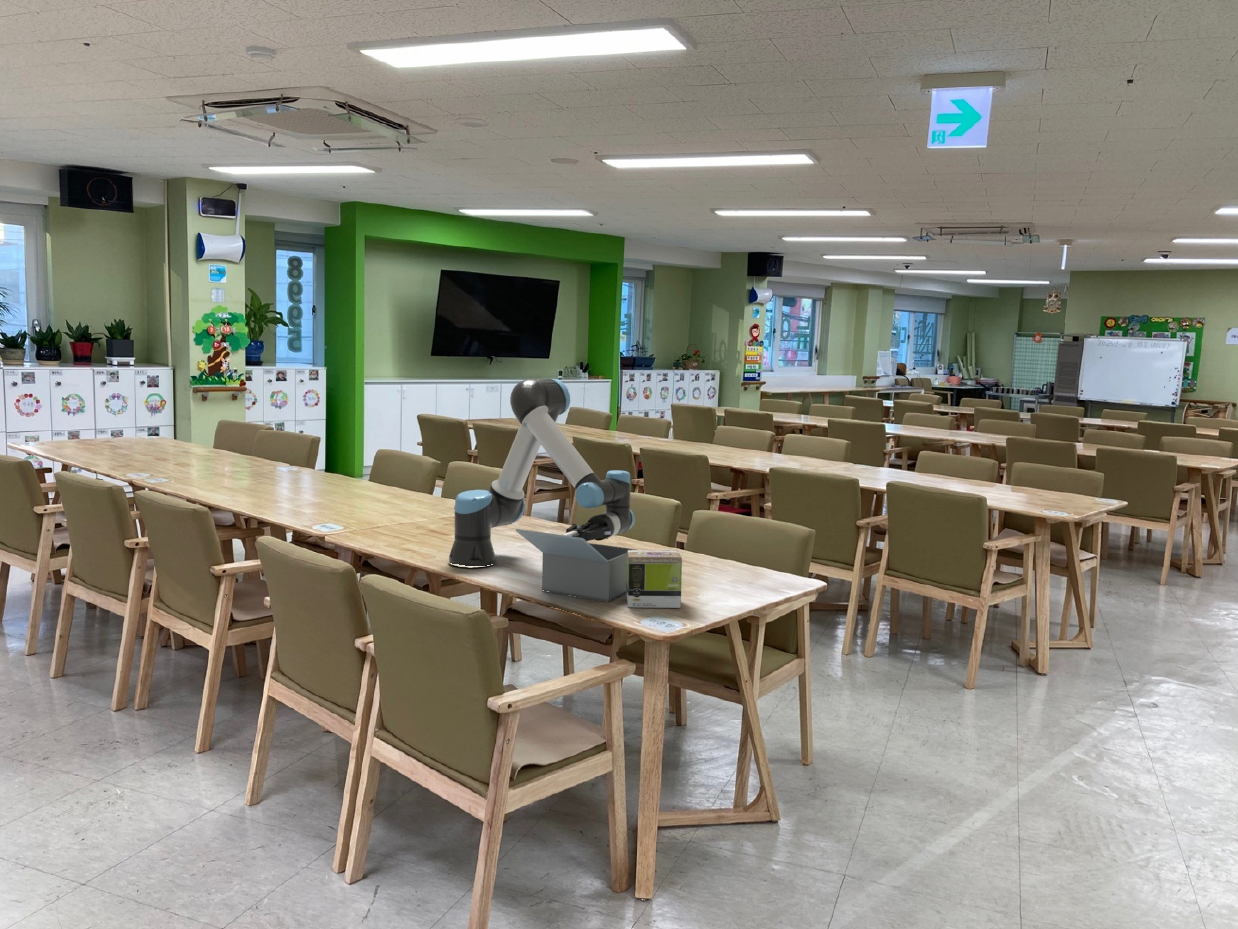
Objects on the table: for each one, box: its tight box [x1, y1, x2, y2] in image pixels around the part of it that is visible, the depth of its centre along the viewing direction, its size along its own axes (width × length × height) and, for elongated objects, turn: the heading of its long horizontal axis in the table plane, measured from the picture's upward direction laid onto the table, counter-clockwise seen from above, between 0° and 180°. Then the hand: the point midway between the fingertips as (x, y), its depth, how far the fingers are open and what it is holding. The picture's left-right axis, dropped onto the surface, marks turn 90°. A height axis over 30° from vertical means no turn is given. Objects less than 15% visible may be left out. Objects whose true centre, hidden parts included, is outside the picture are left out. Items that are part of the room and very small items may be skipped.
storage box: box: [541, 542, 638, 603], centre depth 280 cm, size 22×18×12 cm
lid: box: [515, 528, 608, 563], centre depth 264 cm, size 21×18×1 cm
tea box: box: [625, 549, 683, 609], centre depth 267 cm, size 15×10×15 cm, turn 92°
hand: (563, 539), depth 263 cm, fingers closed
